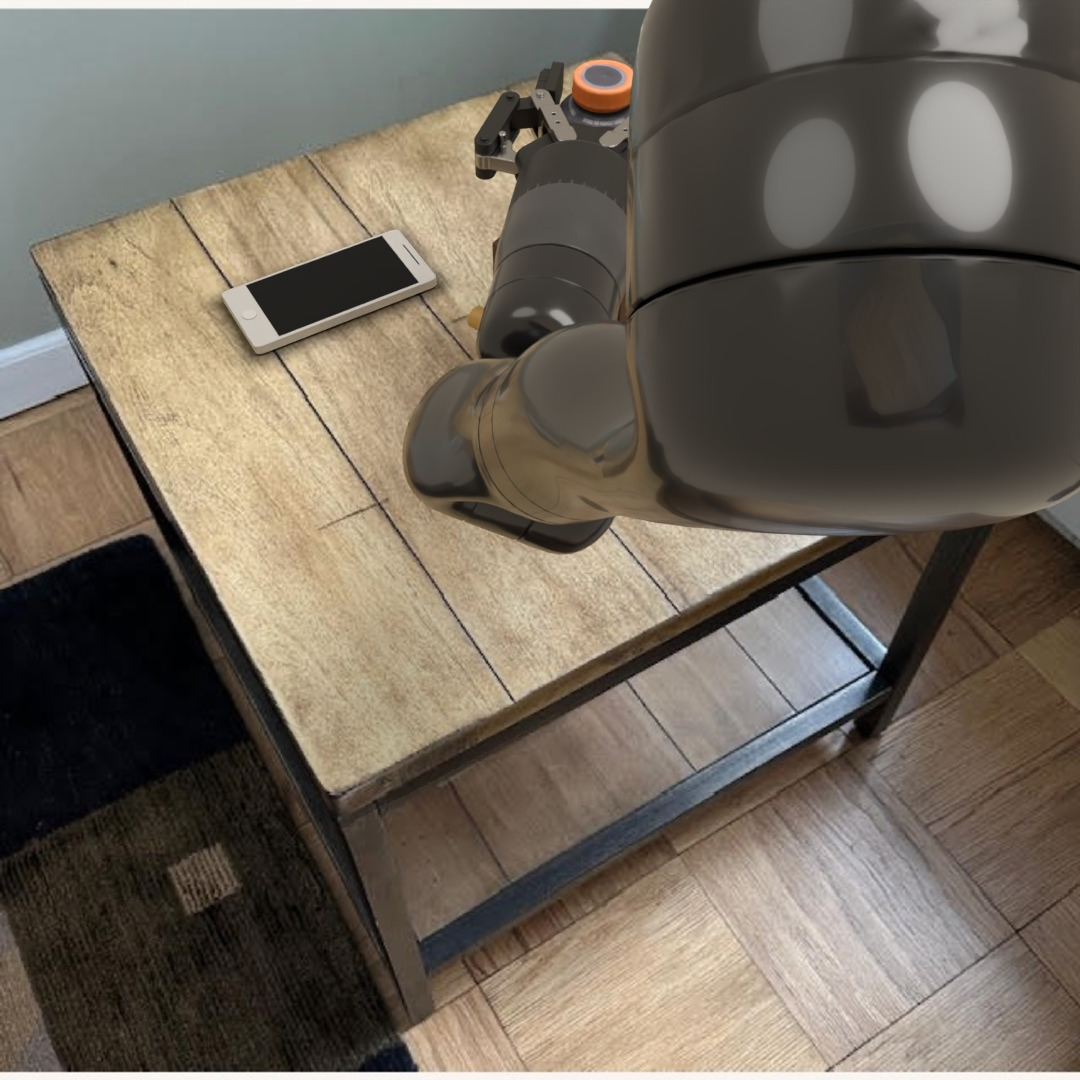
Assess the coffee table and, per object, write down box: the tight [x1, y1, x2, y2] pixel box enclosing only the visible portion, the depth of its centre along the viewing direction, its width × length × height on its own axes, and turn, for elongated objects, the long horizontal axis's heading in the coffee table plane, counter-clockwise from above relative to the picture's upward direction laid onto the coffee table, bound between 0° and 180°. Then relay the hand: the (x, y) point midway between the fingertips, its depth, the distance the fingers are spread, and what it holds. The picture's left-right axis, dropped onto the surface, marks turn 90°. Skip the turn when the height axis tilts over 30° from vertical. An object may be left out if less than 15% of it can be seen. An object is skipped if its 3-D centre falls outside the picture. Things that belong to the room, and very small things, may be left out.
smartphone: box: [221, 229, 438, 355], centre depth 86 cm, size 7×16×1 cm, turn 121°
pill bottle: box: [559, 59, 633, 127], centre depth 73 cm, size 6×6×11 cm
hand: (606, 80), depth 71 cm, fingers closed on pill bottle, 6 cm apart
